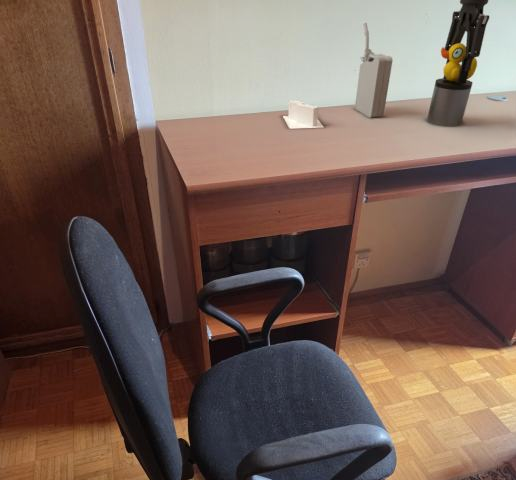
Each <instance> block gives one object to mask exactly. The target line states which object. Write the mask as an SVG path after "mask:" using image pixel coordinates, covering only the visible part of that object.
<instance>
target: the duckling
mask: <svg viewBox="0 0 516 480" xmlns="http://www.w3.org/2000/svg"><path fill="white" fill-rule="evenodd" d="M440 54H441V55H440V56H441V57H442V58H443V59H446V60H447V59H449V62H448V63H447V64H446V63H445V65H444V67H443V70H442V71H443V76H444V75H445V77H446V78H447V80H449V81H451V82H457V80H458V76H459V72H460V68H461V63H462V60H463V57H465V55H466V44H464V43H462V42H461V43H457V44H455V45H453V46H452V47H451V48H450V50H449V51H447V50H445V46H442V48H441V49H440ZM477 67H478V60H477V57H475V58H473V61H472V64H471V68H470V71H469V73H468V76H467V80H469V79H471V78H472V77H473V76H474V75H475V72H476V70H477Z"/></svg>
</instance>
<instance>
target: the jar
mask: <svg viewBox="0 0 516 480" xmlns="http://www.w3.org/2000/svg"><path fill="white" fill-rule="evenodd" d="M472 87H473V81H471V80H469V79H467V80H466V83H461V84H458V83H457V82H451V81H449V80H447V79H443V77H441V78H437V79H435V82H434V87H433V91H432V95H431V99H430V104H429V109H428V113H427V117H426V122H428V123H429V124H431V125H433V126H434V125H435V126H440V127H457V126H460V125H462V124H463V120H464V116H465V112H466V110H467V105H468V102H469V97H470V94H471V91H472Z"/></svg>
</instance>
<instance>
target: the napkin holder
mask: <svg viewBox="0 0 516 480" xmlns="http://www.w3.org/2000/svg"><path fill="white" fill-rule="evenodd" d="M282 117H283V119H284V121H285V123H286V124H287V127H288V129H289V130H290V129H291V130H293V129H294V130H295V129H314V128H315V129H319V128H324V125H323V124H322V123H321V121H320V120H319V106H315V105H311V104H306V103H305V102H303V101H299V100H294V99H293V100H290V101H288V115H283V116H282Z"/></svg>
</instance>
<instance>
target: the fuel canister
mask: <svg viewBox="0 0 516 480" xmlns="http://www.w3.org/2000/svg"><path fill="white" fill-rule="evenodd" d="M363 30H364V36H365V49H364V54H363V56H360V60H361V62H362V63H360V65H359V71H358V78H357V79H358V80H357V87H356V95H355V104H354V110H356V111H358V112H359V113H361V114H363V115H364V116H366V117H367V118H370V119H371V118H382V117H384V115H385V109H386V103H387V96H388V91H389V86H390V78H391V72H392V67H393V61H394V60H393V57H392V56H390V55H386V54H383V53H379V54H377V53H375V52H373V51H372V49H370V33H369V32H370V31H369V28H368V23H367V22H365V23H363Z"/></svg>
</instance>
